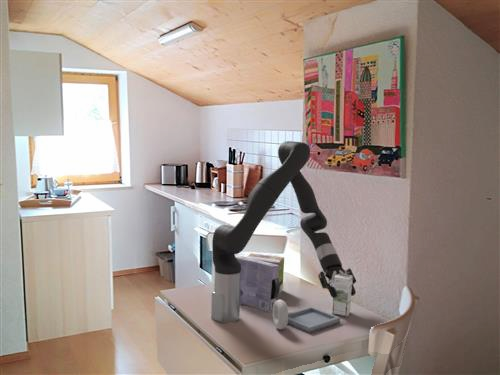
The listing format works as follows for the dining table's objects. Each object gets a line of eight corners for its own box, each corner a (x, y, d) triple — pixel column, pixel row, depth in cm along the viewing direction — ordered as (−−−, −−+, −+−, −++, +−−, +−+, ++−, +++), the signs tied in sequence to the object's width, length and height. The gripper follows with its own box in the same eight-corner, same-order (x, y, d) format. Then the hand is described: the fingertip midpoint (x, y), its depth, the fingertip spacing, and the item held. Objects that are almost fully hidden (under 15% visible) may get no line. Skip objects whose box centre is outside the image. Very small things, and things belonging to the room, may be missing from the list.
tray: (309, 333, 172) (309, 327, 172) (280, 320, 182) (280, 315, 182) (340, 322, 182) (340, 317, 182) (310, 311, 193) (311, 306, 193)
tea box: (242, 293, 212) (243, 258, 210) (249, 286, 221) (250, 252, 220) (277, 297, 208) (279, 261, 206) (283, 290, 217) (284, 256, 215)
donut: (288, 333, 171) (290, 304, 170) (279, 334, 170) (280, 305, 169) (280, 322, 181) (281, 295, 179) (270, 323, 180) (272, 295, 179)
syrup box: (350, 312, 193) (353, 274, 192) (346, 317, 188) (349, 278, 186) (336, 309, 196) (338, 272, 194) (331, 314, 190) (333, 276, 189)
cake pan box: (279, 309, 194) (281, 264, 192) (272, 313, 189) (274, 266, 187) (239, 298, 205) (240, 255, 203) (231, 301, 201) (232, 257, 199)
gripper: (316, 254, 193) (333, 293, 184) (348, 251, 199) (365, 289, 190) (308, 264, 198) (324, 303, 189) (339, 261, 205) (355, 298, 196)
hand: (344, 296), depth 190 cm, fingers closed on syrup box, 8 cm apart
